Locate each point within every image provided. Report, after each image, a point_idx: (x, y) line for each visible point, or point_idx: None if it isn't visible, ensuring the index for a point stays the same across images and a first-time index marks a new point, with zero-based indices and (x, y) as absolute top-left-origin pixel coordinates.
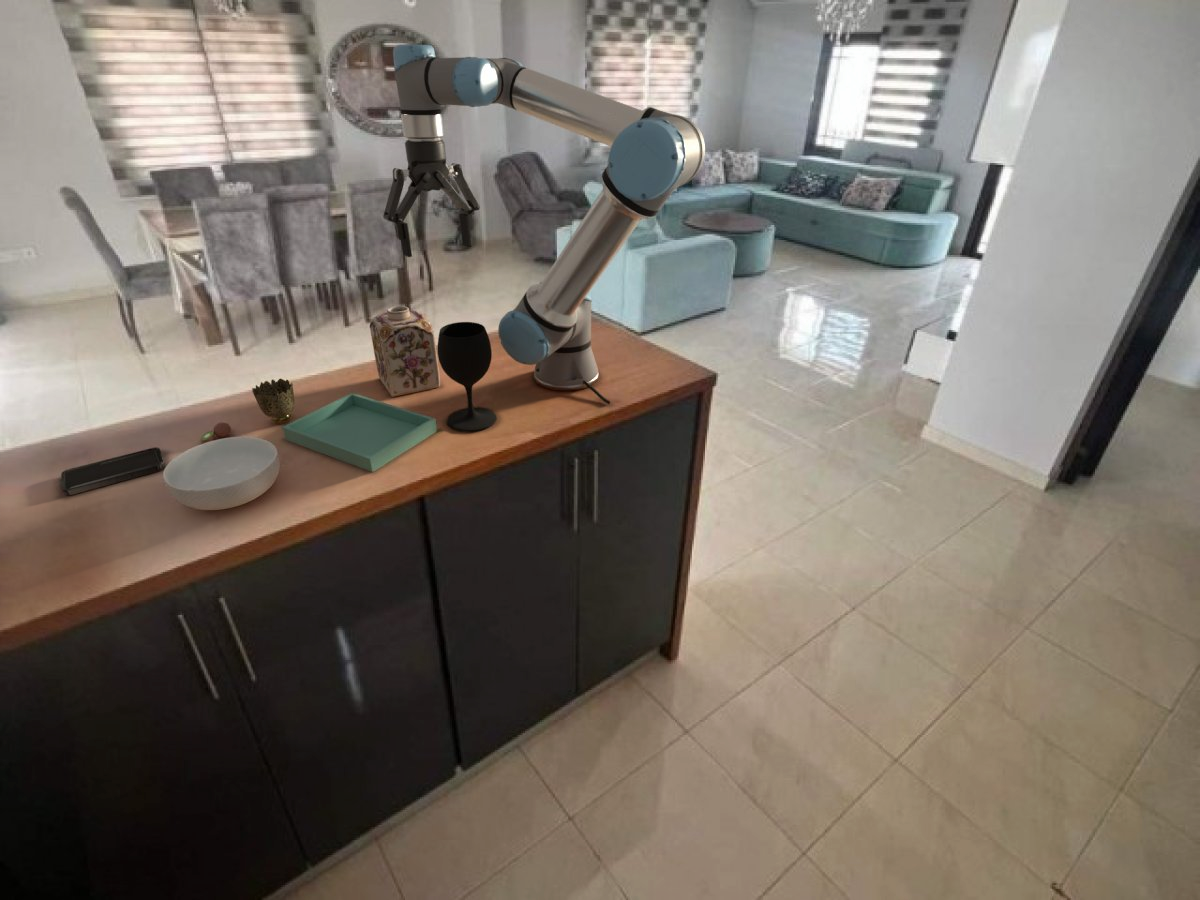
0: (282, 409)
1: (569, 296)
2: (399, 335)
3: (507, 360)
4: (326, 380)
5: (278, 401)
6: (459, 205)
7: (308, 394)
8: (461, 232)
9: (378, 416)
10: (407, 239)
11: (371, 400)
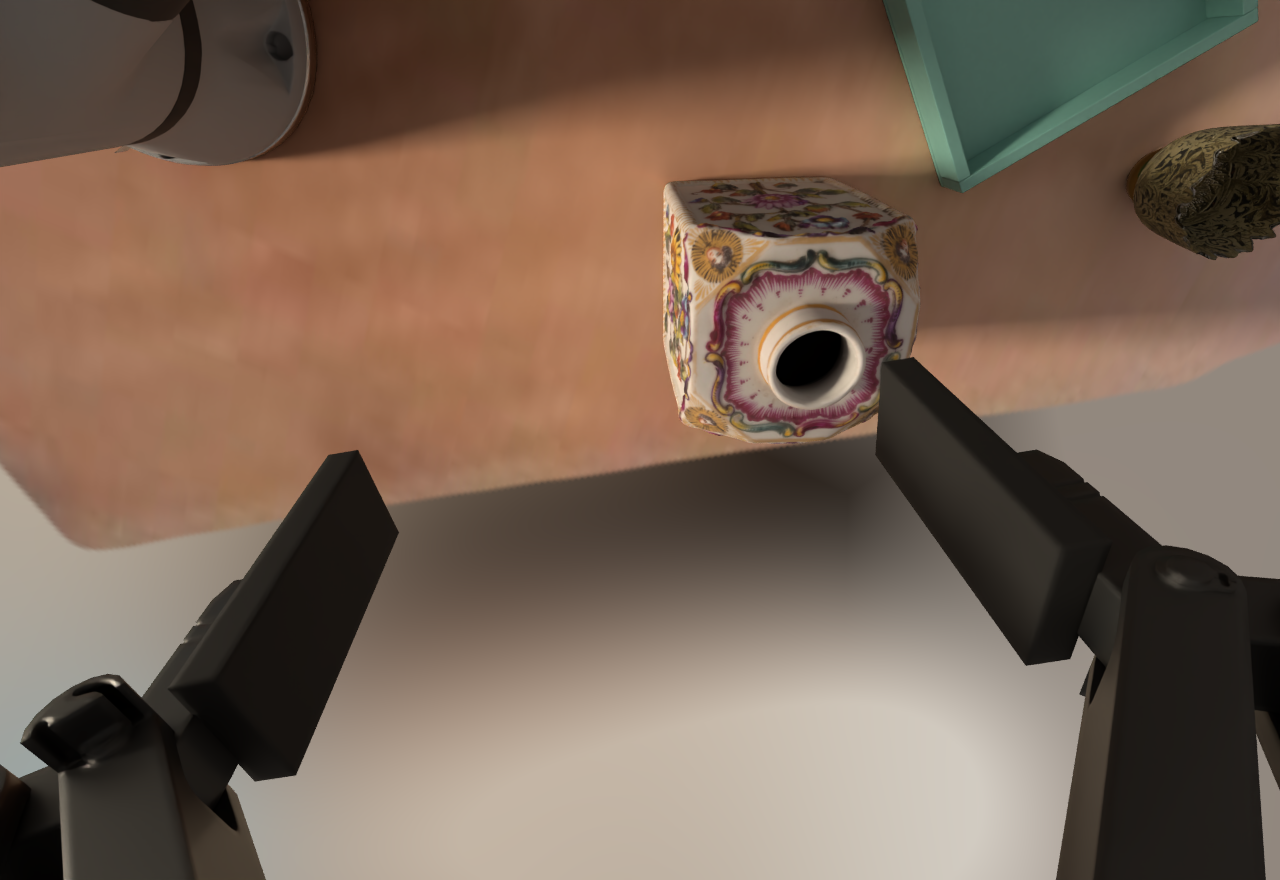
0: (1213, 128)
1: None
2: (845, 225)
3: (390, 294)
4: None
5: (1251, 125)
6: (217, 850)
7: (1005, 322)
8: (363, 604)
9: (931, 31)
10: (978, 436)
11: (943, 90)
